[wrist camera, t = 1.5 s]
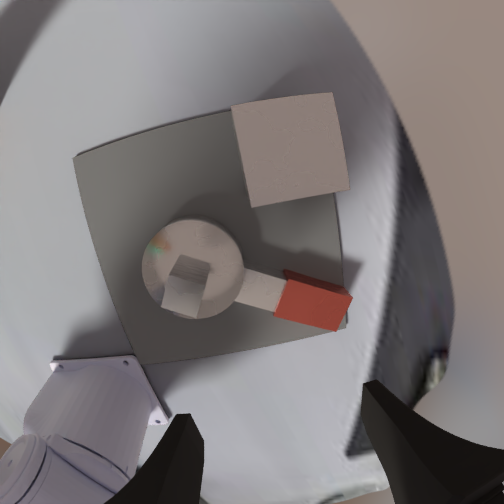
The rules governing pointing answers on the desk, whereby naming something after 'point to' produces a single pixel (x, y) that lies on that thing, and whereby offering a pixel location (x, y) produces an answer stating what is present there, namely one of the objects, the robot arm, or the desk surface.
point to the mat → (205, 204)
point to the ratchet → (230, 278)
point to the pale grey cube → (290, 148)
